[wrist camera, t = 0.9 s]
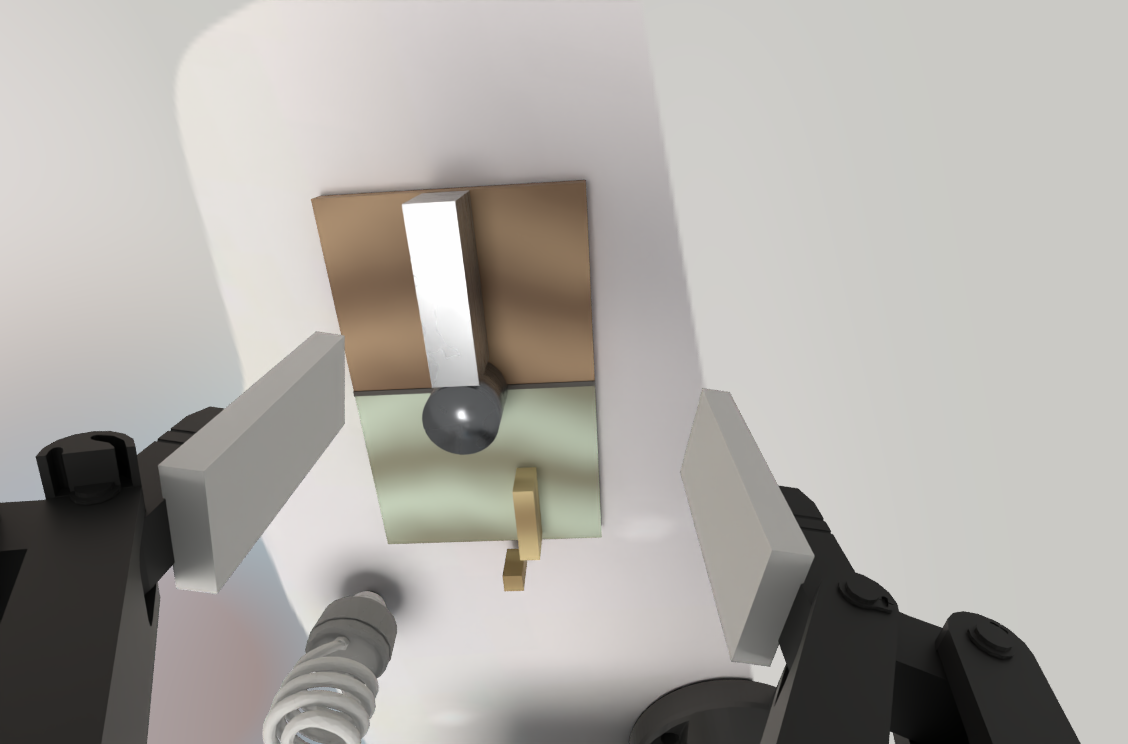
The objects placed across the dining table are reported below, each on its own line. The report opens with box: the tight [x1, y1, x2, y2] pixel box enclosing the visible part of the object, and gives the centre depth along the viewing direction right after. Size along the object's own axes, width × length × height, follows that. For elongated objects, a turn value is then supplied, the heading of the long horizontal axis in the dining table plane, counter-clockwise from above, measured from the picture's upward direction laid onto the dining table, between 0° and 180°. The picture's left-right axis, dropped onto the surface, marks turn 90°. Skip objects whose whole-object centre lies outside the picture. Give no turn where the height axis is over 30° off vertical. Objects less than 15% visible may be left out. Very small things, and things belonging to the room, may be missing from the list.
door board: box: [311, 180, 602, 591], centre depth 34 cm, size 24×14×4 cm, turn 3°
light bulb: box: [263, 591, 397, 744], centre depth 37 cm, size 6×6×12 cm
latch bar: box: [402, 190, 508, 455], centre depth 31 cm, size 13×4×4 cm, turn 4°
